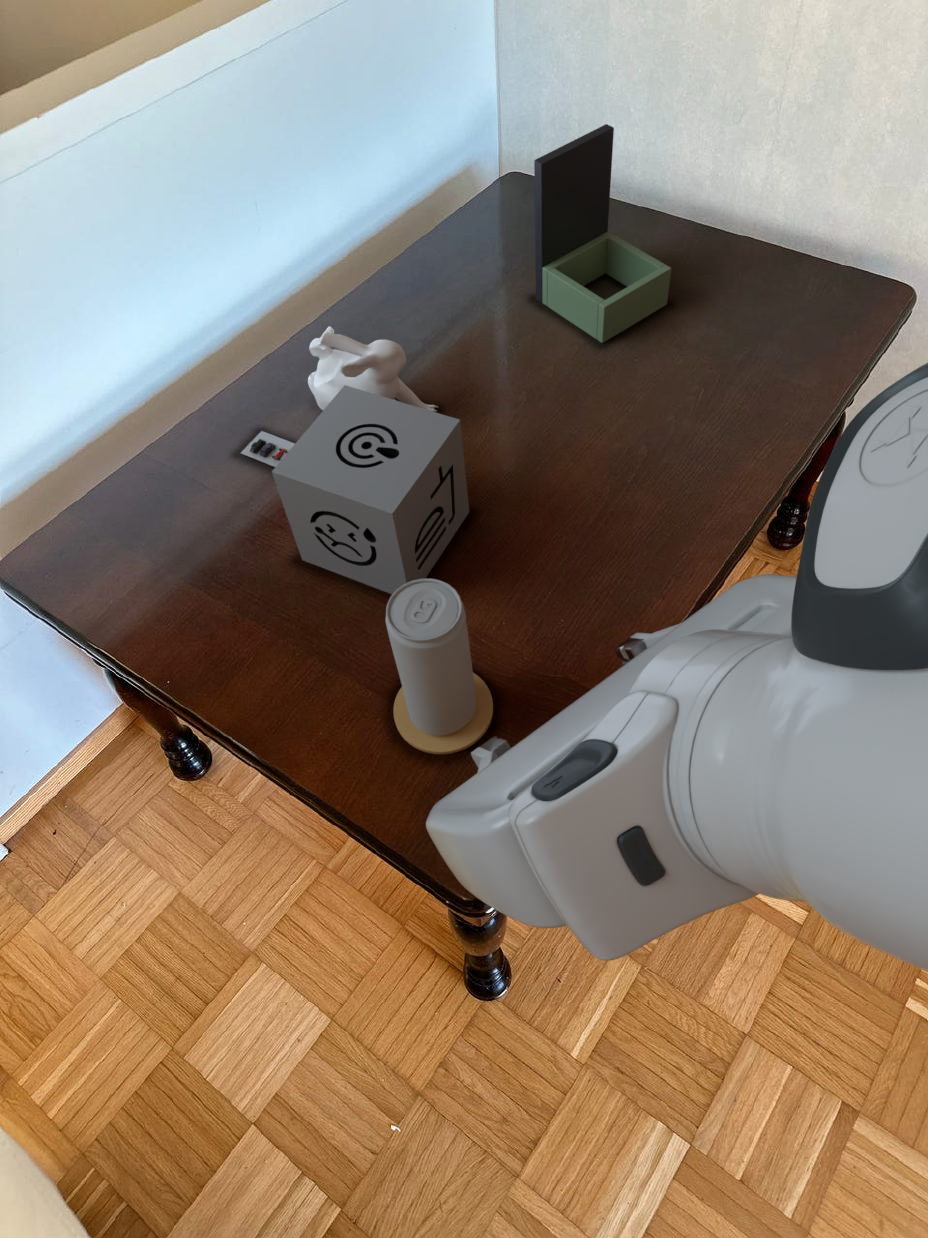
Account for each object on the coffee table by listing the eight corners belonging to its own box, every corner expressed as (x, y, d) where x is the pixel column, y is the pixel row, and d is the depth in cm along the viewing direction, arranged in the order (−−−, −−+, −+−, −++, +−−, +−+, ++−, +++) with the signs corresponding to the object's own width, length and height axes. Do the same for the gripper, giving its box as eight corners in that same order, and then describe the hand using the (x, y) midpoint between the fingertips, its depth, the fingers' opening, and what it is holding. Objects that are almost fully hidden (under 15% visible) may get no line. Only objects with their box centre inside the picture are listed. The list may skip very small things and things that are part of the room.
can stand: (667, 304, 88) (685, 162, 77) (602, 343, 85) (610, 202, 74) (598, 263, 93) (606, 123, 82) (535, 298, 90) (534, 159, 79)
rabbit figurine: (441, 409, 82) (429, 318, 74) (399, 463, 78) (382, 374, 70) (330, 374, 86) (308, 285, 78) (285, 425, 82) (258, 336, 74)
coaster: (495, 668, 65) (495, 665, 65) (490, 756, 61) (490, 753, 61) (400, 666, 66) (399, 663, 66) (388, 753, 62) (387, 750, 62)
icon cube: (469, 511, 74) (460, 419, 66) (410, 601, 69) (392, 513, 61) (365, 476, 78) (344, 384, 69) (302, 560, 73) (271, 471, 65)
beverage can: (487, 692, 64) (477, 590, 54) (459, 749, 61) (442, 652, 52) (426, 671, 65) (406, 567, 55) (396, 725, 63) (369, 627, 53)
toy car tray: (261, 430, 82) (259, 424, 81) (333, 458, 79) (332, 452, 78) (240, 453, 80) (237, 446, 80) (312, 481, 77) (311, 475, 77)
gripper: (894, 533, 36) (682, 546, 48) (483, 849, 29) (366, 768, 42) (951, 668, 37) (731, 645, 50) (571, 996, 31) (432, 874, 44)
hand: (561, 703), depth 46 cm, fingers open, 8 cm apart
